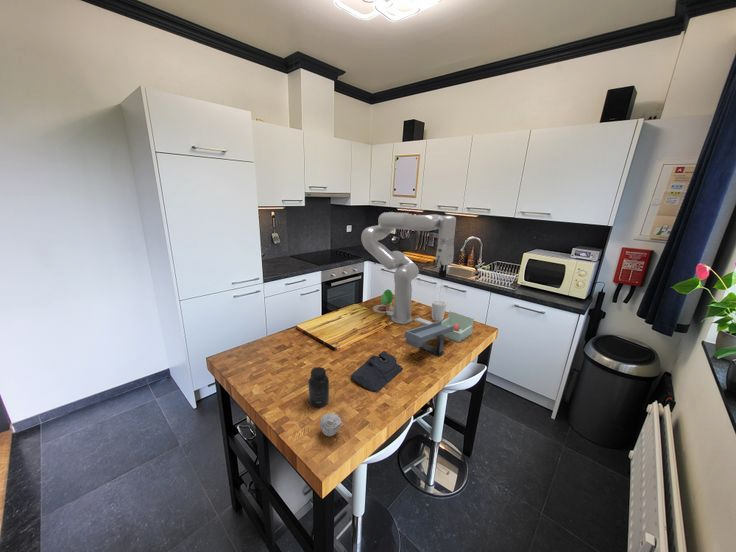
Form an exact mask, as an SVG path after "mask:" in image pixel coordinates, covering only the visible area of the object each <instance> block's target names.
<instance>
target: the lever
mask: <svg viewBox="0 0 736 552" xmlns="http://www.w3.org/2000/svg"><path fill="white" fill-rule="evenodd" d="M414 321H415V322H417V323H420V324H422V325H421V326H418V327H416V328H415V327H414V328H411V329H408V330H405V331H404V336H403V338H404V339H405V344H406V345H409V346H410V347H412V348H416V349H420V347H422V346H423V343H426V342H428V341H431V340H434V339H437V338H438V336H440V335H445V334H448V333H450V332H453V331H454V327H455V326H454V325H452V326H450V327H446V326H444V325H441V323H442V321H443V320H442V321H435V322H432V321H431V320H427V319H424V318H421V317H417V318H414Z"/></svg>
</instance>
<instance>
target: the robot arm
mask: <svg viewBox="0 0 736 552" xmlns="http://www.w3.org/2000/svg"><path fill="white" fill-rule="evenodd" d="M377 221H378V224H377V225H372V226H368V227H365V228H364V230H363V231H362V232H361V236H360V237H361V243H362V244H361V245H362V246H363V248H364V250H366V251H367V252H368V253H369V254H371V255H372V257H374V258H375V259H376V261H378V262H379V263H380V264H381V266H383V267H384V268H385V269H386V270H388V271H389V270H390V271H392V270H395V269H396V270H395V271H394V276H393V281H394V295H393V298H394V299H393V300H394V301H393V308H394V310H393V311H391V310H390V311H386V310H385V311H386V313H385V314H386V316H390V317H389V318H390V320H391V322H393V323H395V324H400V325H407V324H410V323H413V317H412V316H411V310H412V309H411V308H412V298H413V297H412V293H413V288H412V281H413V280H415V279H416V278H417V277H418V276H419V273H420V270H419V267H418V266H417V265H416V263H415V262H413V261H412V259H410V258H409V257H408V256H407V255H406V254H405V253H403V252H401V251H399V250H392V251H391V250H390V249H388V248H387V247H386V246H385V244H383V243H381V242H380V241H381V240H383V239H385V238H386V237H387V236H389V235H390V234H391V232H393V230H395V229H396V230H405V231H406V230H407V231H417V232H418V231H420V232H421V231H422V232H430V231H434V230H438V239H437V248H436V254H435V264H436V267H437V268H438V277H439V278H442V279H445V278H447V270H448V267H449V265H451V264H453V262H454V255H455V254H454V253H455V248H454V247H455V246H454V245H455V244H454V243H455V233H456V226H457V225H456V224H457V218H456V217H455V216H454V215H441V214H436V213H435V214H434V213H433V214H428V215H427V214H424V215H423V214H410V212H394V211H389V212H382V213H381V214H380V215H379V216H378V220H377Z"/></svg>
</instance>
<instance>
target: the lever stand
mask: <svg viewBox="0 0 736 552" xmlns="http://www.w3.org/2000/svg"><path fill="white" fill-rule="evenodd" d="M436 339H437V341H436V347H435V346H434V345H430V344H428V343H426V342H424V343H423V346H422V347H420V348H419V349H420V350H422V351H424V352H426V353H428V354H431V355H432V356H435V357H438V358H439V357H441V356H443V355H444V354H445V351H444V343H445V337H444V335H440V336H438V337H437V338H436Z"/></svg>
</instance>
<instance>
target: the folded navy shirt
mask: <svg viewBox="0 0 736 552" xmlns="http://www.w3.org/2000/svg"><path fill="white" fill-rule="evenodd" d="M403 370H404V368H403V366H402V365H401V364H398V363H397V359H396V356H394V355H392V354H390V353H388V351H385V350H382V352H380V353H379V354H378V355H375V354H373V355H371V356H370V357H369V358H368V359H367V360H366V361H365V362H364V364H362V365H361V366H359V367H358V368H356V370H355V371H354V372H353V373H352V374H351V375H350V379H351V380H353V381H354V382H355V383H357V384H359V385H361V386H362V387H363V388H364V389H367V390H368V391H371V392H373V393H379V392H381V390H382V389H383V388H385V387H386V386H387V385H388V384H390V382H392V381H393V379H395V378H396V377H397V376H398V375H399V374H400V373H401V372H402V371H403Z"/></svg>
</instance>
